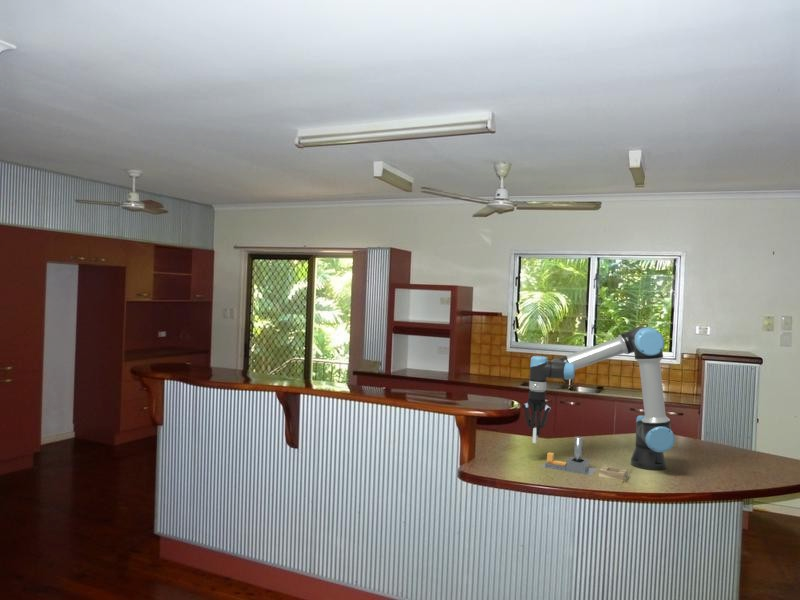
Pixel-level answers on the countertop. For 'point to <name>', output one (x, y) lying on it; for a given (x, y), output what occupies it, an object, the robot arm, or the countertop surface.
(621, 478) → the light wood square frame
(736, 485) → the countertop surface
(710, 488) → the countertop surface
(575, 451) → the peg
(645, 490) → the countertop surface
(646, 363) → the robot arm
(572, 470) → the socket station
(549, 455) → the orange block
